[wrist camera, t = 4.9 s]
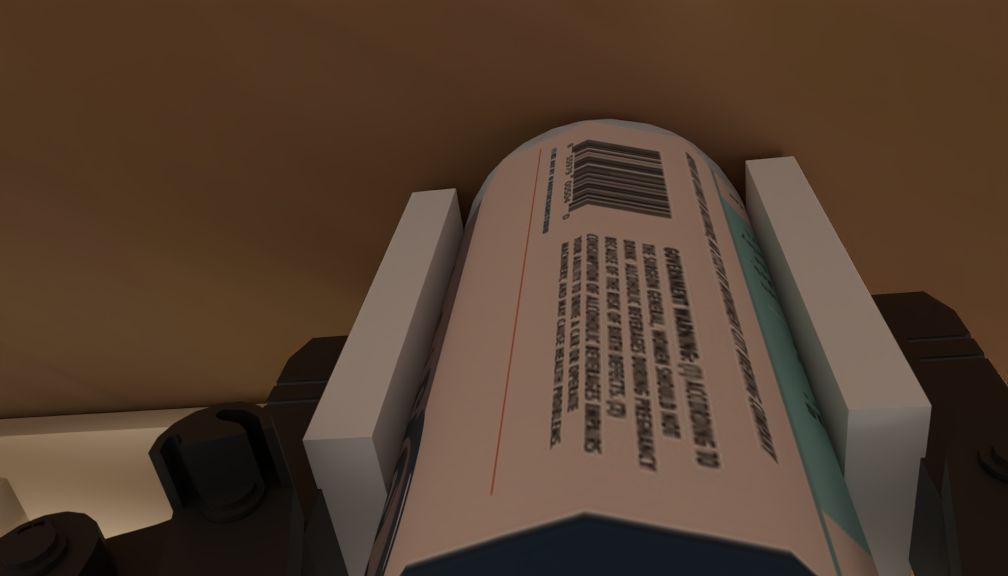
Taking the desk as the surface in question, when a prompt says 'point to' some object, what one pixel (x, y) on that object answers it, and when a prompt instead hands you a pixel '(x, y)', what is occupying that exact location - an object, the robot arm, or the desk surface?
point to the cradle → (85, 468)
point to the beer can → (614, 384)
